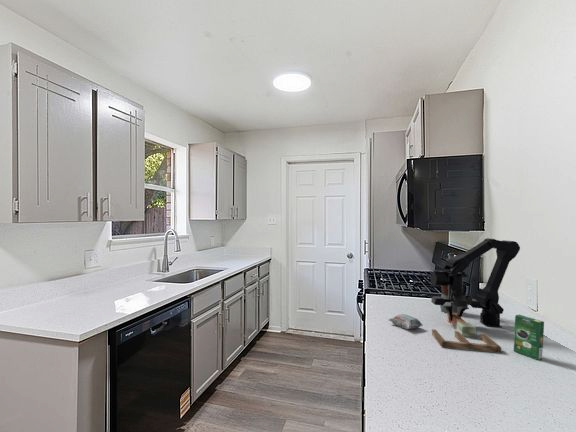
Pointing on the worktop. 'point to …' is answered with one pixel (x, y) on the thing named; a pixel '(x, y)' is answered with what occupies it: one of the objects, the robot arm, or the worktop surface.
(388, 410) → the worktop surface
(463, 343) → the lane rack
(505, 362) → the worktop surface
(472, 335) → the block
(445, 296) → the bottle
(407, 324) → the packaged food
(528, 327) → the coffee box
